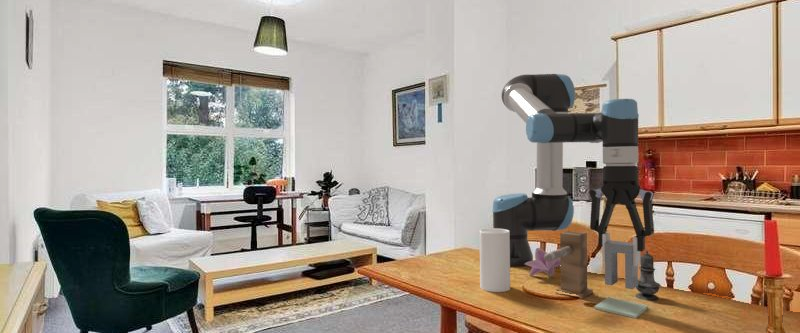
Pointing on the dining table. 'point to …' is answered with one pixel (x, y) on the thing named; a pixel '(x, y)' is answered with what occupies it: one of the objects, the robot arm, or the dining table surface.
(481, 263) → the cup
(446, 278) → the dining table surface
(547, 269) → the lily
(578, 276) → the peg stand
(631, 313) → the mat
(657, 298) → the salt shaker
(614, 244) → the grey slotted block
